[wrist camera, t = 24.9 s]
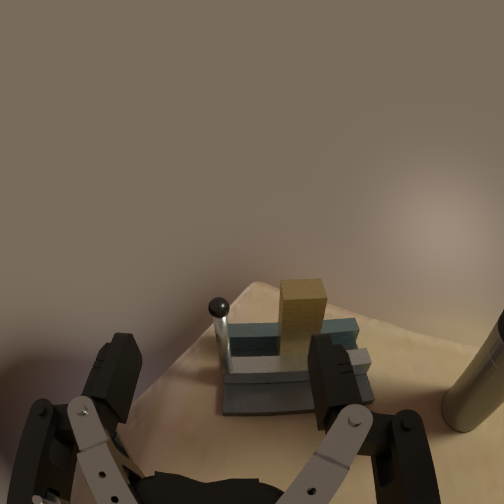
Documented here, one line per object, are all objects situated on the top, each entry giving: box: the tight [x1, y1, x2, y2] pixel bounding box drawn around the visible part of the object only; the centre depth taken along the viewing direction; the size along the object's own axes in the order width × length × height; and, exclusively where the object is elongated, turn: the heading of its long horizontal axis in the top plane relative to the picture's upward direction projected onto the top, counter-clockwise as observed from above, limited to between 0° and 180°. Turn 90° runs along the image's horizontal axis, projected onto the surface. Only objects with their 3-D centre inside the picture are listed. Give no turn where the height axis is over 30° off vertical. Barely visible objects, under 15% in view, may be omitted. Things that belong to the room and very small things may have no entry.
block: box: [277, 279, 327, 356], centre depth 39 cm, size 4×6×14 cm
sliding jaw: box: [208, 297, 372, 384], centre depth 35 cm, size 4×22×16 cm, turn 91°
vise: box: [222, 318, 375, 416], centre depth 41 cm, size 16×22×4 cm
